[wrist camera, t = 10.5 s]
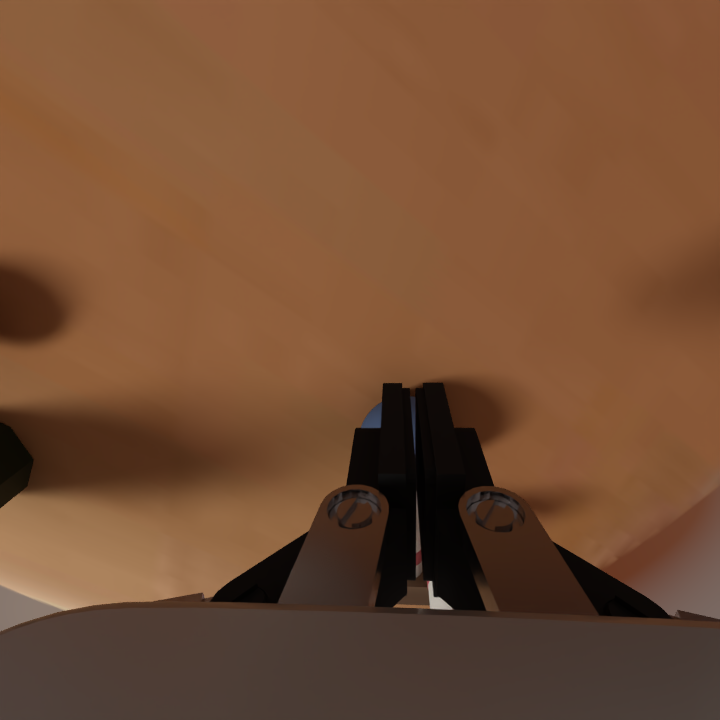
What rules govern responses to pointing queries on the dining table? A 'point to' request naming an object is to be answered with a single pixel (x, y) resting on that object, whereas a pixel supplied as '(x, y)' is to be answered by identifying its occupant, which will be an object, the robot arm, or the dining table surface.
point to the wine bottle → (12, 465)
